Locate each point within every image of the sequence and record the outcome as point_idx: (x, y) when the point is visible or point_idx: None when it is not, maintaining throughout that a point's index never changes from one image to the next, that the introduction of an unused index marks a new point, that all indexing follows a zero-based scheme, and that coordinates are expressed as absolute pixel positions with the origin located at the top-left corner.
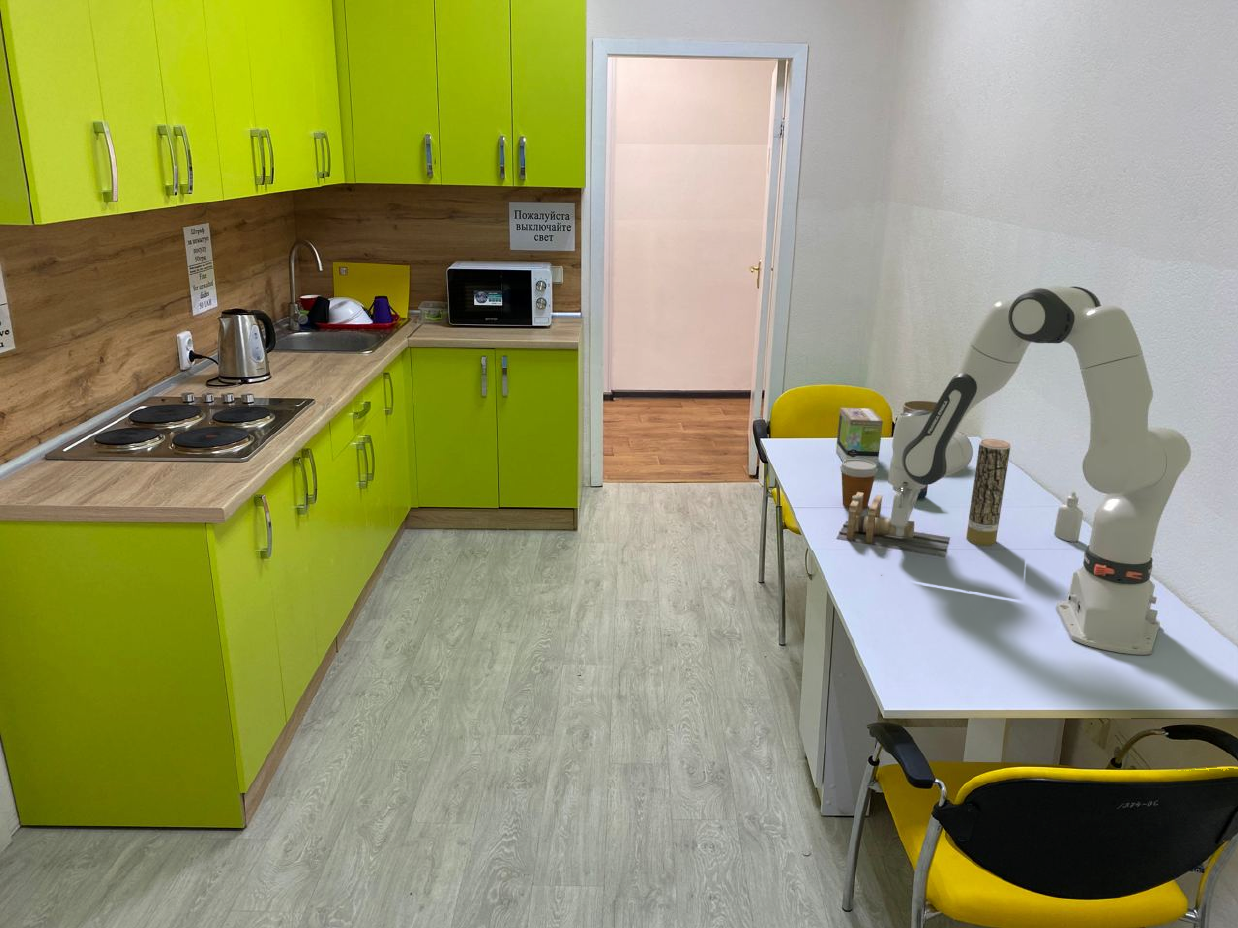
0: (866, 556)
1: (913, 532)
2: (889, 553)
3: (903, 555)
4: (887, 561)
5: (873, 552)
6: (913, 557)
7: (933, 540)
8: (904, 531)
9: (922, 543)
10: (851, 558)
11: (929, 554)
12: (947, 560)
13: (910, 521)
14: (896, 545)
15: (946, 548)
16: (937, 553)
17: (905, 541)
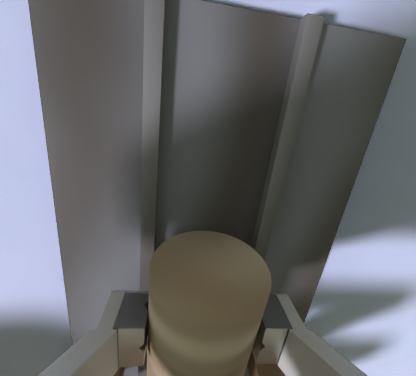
0: (372, 338)
1: (181, 243)
2: (339, 284)
3: (354, 238)
4: (413, 283)
5: (336, 327)
6: (372, 200)
7: (160, 107)
8: (266, 306)
9: (223, 170)
10: (389, 366)
11: (372, 132)
12: (405, 24)
13: (214, 341)
14: (283, 277)
15: (310, 16)
16: (356, 85)
17: None
